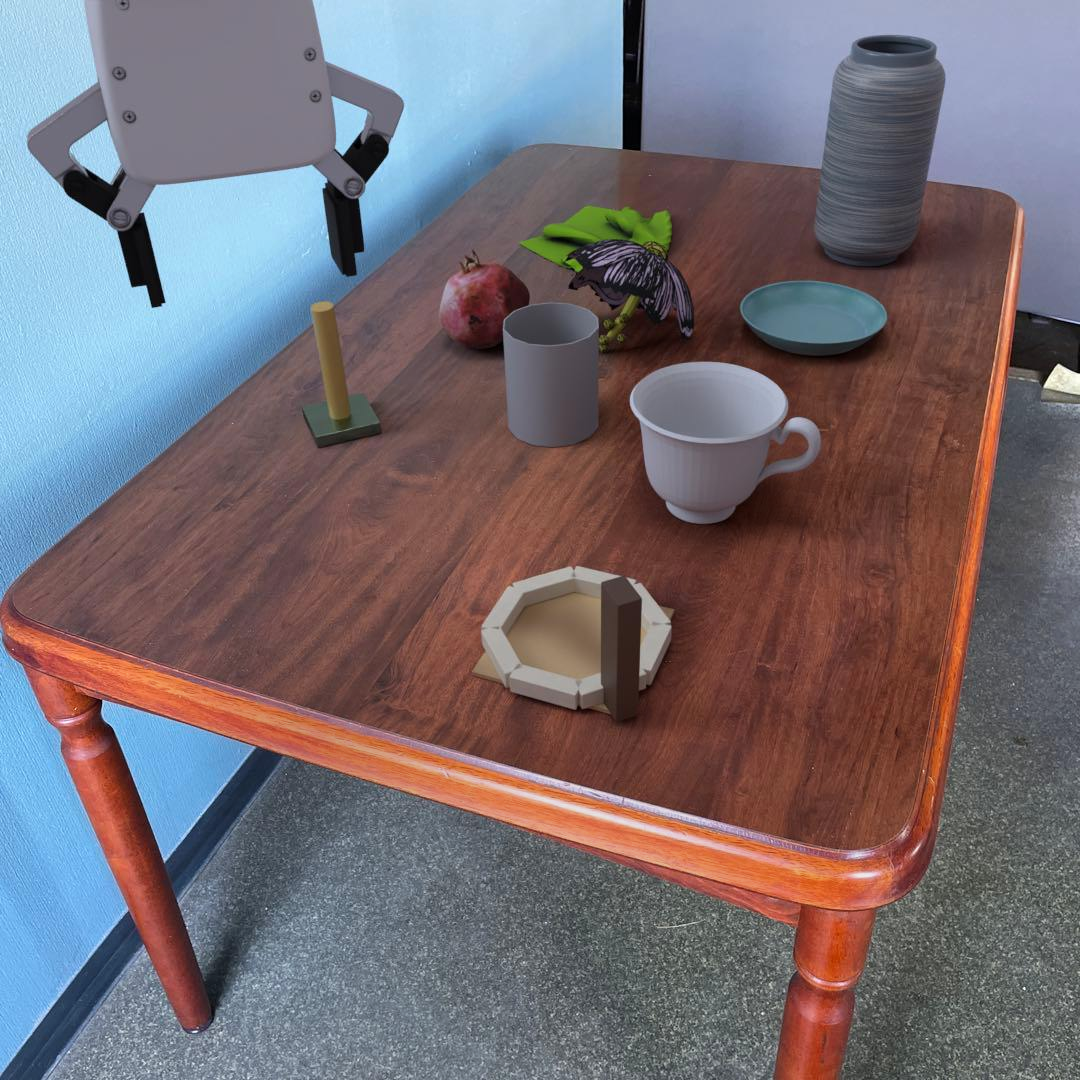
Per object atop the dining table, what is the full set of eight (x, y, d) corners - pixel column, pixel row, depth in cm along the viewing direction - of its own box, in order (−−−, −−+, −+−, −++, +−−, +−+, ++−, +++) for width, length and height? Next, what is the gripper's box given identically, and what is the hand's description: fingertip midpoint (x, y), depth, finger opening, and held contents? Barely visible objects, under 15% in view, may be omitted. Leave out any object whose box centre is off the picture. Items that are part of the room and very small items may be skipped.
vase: (792, 255, 127) (817, 47, 113) (842, 225, 134) (871, 26, 120) (882, 280, 121) (919, 64, 107) (929, 248, 128) (971, 40, 114)
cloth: (580, 289, 122) (580, 269, 120) (496, 227, 137) (495, 208, 136) (729, 251, 129) (730, 231, 127) (633, 196, 144) (633, 178, 143)
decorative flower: (744, 259, 103) (598, 232, 98) (715, 379, 106) (573, 357, 102) (686, 245, 116) (555, 220, 112) (662, 352, 120) (534, 331, 115)
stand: (317, 448, 97) (294, 327, 90) (303, 416, 101) (280, 299, 94) (382, 433, 99) (364, 313, 91) (365, 403, 103) (347, 286, 96)
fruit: (548, 332, 114) (545, 242, 107) (496, 370, 107) (490, 276, 101) (478, 313, 118) (472, 225, 112) (424, 349, 112) (414, 257, 105)
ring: (463, 611, 78) (452, 499, 72) (617, 566, 82) (619, 456, 76) (538, 748, 68) (532, 631, 61) (711, 690, 71) (722, 574, 65)
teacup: (784, 575, 81) (800, 464, 75) (603, 525, 86) (604, 419, 80) (827, 491, 89) (844, 385, 83) (659, 451, 95) (664, 349, 89)
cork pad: (624, 718, 70) (624, 714, 70) (472, 675, 74) (471, 671, 73) (674, 613, 78) (674, 609, 78) (534, 579, 81) (534, 575, 81)
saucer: (914, 344, 109) (919, 320, 107) (797, 381, 104) (800, 356, 102) (821, 291, 119) (824, 268, 118) (710, 321, 114) (711, 298, 113)
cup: (497, 441, 97) (491, 341, 91) (520, 396, 103) (515, 299, 97) (589, 451, 95) (588, 349, 89) (606, 404, 101) (607, 306, 95)
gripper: (362, -122, 50) (396, 232, 61) (-37, -101, 46) (73, 280, 56) (405, -104, 45) (434, 282, 55) (-46, -78, 40) (79, 341, 50)
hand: (252, 281), depth 55 cm, fingers open, 9 cm apart
